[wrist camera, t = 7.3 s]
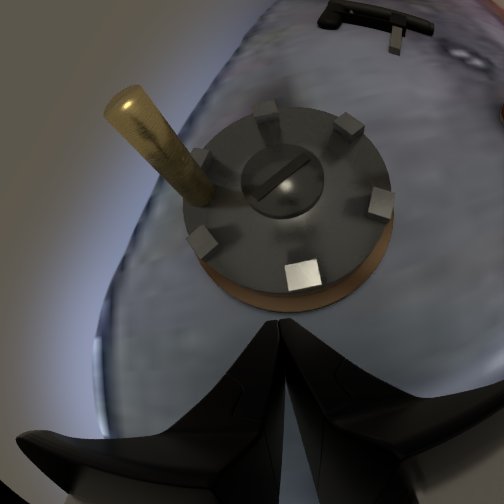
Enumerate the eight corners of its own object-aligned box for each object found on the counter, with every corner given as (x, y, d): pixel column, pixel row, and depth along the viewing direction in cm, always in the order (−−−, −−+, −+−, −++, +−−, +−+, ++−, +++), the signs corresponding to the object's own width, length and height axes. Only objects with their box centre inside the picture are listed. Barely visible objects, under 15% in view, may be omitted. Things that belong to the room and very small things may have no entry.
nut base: (395, 312, 19) (400, 311, 18) (185, 306, 24) (177, 304, 22) (375, 132, 24) (376, 122, 23) (209, 140, 29) (204, 132, 27)
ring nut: (274, 341, 19) (195, 359, 7) (168, 201, 25) (72, 113, 12) (418, 207, 20) (488, 86, 7) (293, 105, 25) (267, -10, 12)
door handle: (439, 58, 23) (433, 18, 25) (307, 27, 30) (329, -6, 31) (434, 74, 26) (431, 31, 28) (310, 42, 33) (331, 7, 34)
